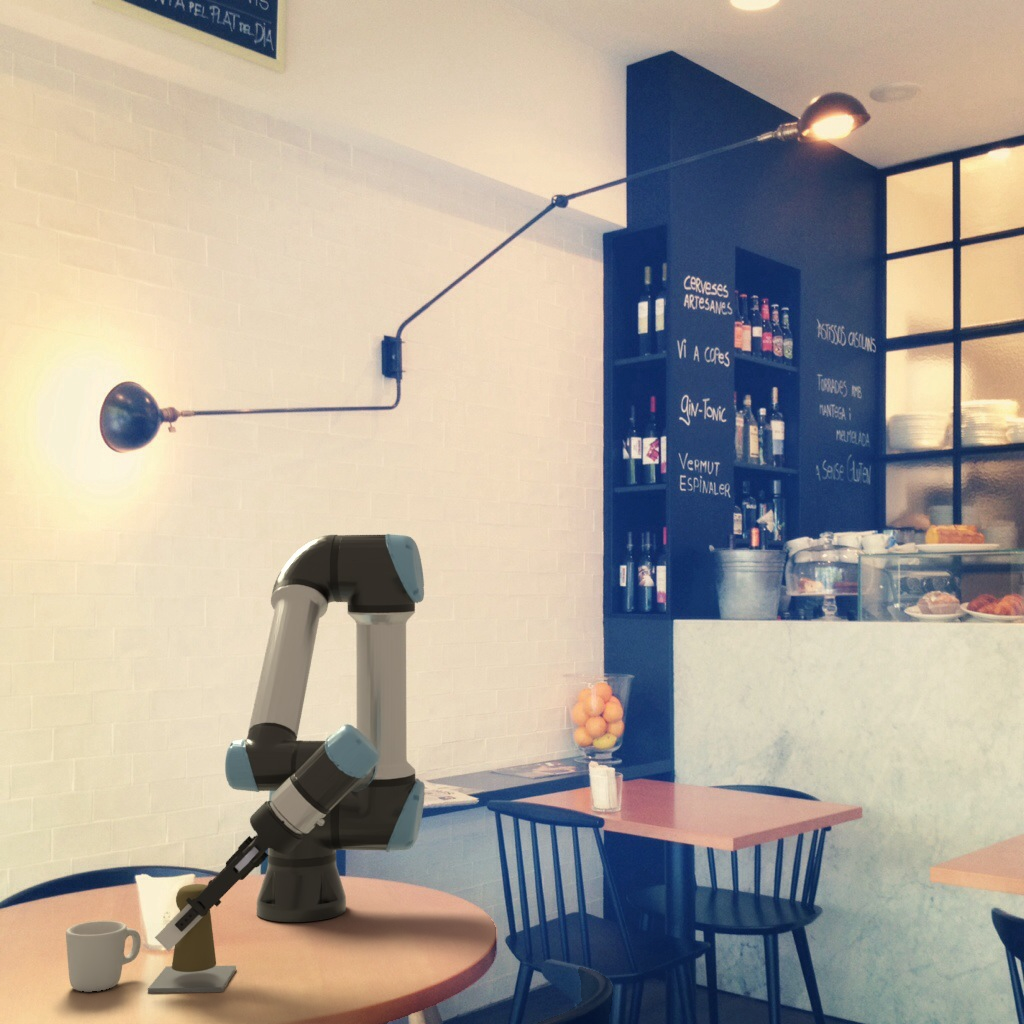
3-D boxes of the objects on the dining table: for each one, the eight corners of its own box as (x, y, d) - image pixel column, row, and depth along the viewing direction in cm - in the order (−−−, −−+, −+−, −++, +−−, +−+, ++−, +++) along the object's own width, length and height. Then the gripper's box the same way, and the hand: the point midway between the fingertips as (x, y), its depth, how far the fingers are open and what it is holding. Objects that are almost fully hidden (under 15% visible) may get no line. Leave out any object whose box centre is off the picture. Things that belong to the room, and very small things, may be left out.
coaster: (165, 970, 173) (166, 966, 173) (236, 969, 173) (236, 965, 173) (147, 992, 163) (147, 988, 163) (222, 991, 163) (222, 987, 163)
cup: (122, 970, 173) (123, 913, 174) (154, 981, 168) (156, 922, 169) (52, 988, 165) (54, 928, 165) (84, 1000, 160) (86, 938, 160)
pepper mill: (171, 973, 164) (172, 891, 165) (171, 961, 170) (173, 882, 171) (216, 969, 166) (218, 888, 167) (215, 957, 172) (216, 879, 173)
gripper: (296, 849, 161) (170, 976, 159) (313, 824, 179) (200, 939, 177) (257, 809, 161) (130, 936, 159) (278, 789, 179) (164, 903, 177)
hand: (167, 937), depth 168 cm, fingers closed on pepper mill, 5 cm apart
